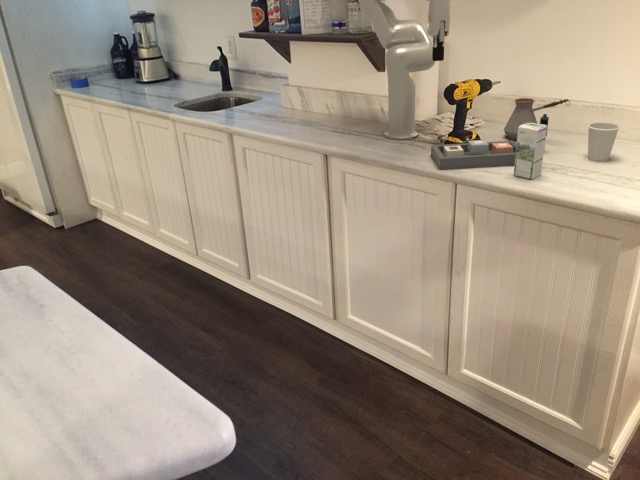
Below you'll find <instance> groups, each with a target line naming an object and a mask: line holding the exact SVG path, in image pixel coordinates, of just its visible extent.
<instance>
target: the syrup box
mask: <svg viewBox="0 0 640 480" xmlns="http://www.w3.org/2000/svg"><path fill="white" fill-rule="evenodd" d="M546 131H547V132H548V128H547V125H542V124H540V123H537V124H535V123H524V124H522V125H520V126H519V127H518V135H517V140H516V144H517V146H516V156H515V166H513V168H514V170H513V176H514V177H518V178H522V179H526V180H531V181H532V180H534V179H536V178H539V177H540V176H541V175H542V173H543V171H542V170H543V161H544V160H543V159H544V153H545V147H546V137H547V136H546ZM544 146H545V147H544Z"/></svg>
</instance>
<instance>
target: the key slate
mask: <svg viewBox="0 0 640 480" xmlns="http://www.w3.org/2000/svg"><path fill="white" fill-rule="evenodd" d="M487 142H488V141H486V140H485V139H478V140H476V139H475V140H468V141H467V143H468V149H469V151H470V152H471V153H482V152H488V148H489V144H488V143H487Z"/></svg>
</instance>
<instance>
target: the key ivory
mask: <svg viewBox="0 0 640 480" xmlns="http://www.w3.org/2000/svg"><path fill="white" fill-rule="evenodd" d="M463 152H464V150H463V149H462V148H461V146H460V145H459V146H444V152H443V154H444V155H445V157H450V156H463Z"/></svg>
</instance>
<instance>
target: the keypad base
mask: <svg viewBox="0 0 640 480" xmlns="http://www.w3.org/2000/svg"><path fill="white" fill-rule="evenodd" d="M486 142H487V143H488V144H489V148H488V152H482V153H471V152H470V151H469V149H468V142H466V143H465V142H463V143H449V144H433V145H431V146H430V147H431V148H430V157H431V158H432V160H433V161H434V164H435V165H436V166H437V168H438V170H439V171H445V170H446V171H447V170H460V169H463V170H464V169H478V168H495V167H511V166H513V167H515V156H516V146H517V142H516V141H515V140H499V141H498V140H497V141H486ZM492 143H509V144H510V145H512V146H513V153H500V154H494V153H493V152H492V151H491V150H492ZM459 145H460V146H461V148H462V149H463V150H464V152H463V156H450V157H445V155H444V154H443V152H444V146H459Z"/></svg>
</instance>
